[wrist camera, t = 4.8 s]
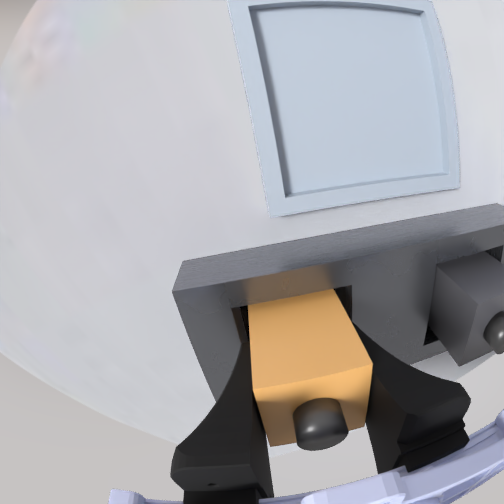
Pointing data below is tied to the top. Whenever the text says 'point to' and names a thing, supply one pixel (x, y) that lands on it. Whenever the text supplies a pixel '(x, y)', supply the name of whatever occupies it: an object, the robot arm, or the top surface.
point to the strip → (335, 283)
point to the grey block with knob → (469, 306)
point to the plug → (308, 370)
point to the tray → (347, 100)
